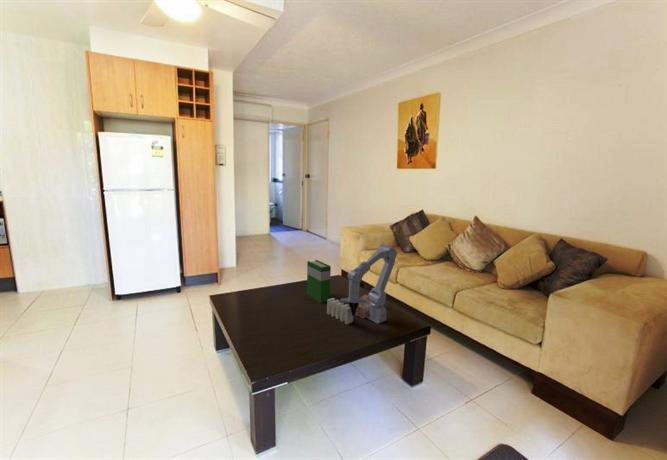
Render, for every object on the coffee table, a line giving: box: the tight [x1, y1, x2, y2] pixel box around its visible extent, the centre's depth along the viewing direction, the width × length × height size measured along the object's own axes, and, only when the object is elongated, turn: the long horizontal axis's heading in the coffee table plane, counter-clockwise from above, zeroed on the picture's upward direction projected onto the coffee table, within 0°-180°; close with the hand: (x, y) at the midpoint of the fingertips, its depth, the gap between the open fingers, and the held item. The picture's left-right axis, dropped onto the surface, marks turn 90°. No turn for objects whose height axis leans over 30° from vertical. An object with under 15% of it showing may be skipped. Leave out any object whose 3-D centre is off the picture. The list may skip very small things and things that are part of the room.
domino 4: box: [339, 303, 349, 323], centre depth 183 cm, size 2×5×9 cm, turn 131°
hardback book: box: [306, 259, 332, 304], centre depth 214 cm, size 18×7×24 cm, turn 35°
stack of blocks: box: [347, 293, 370, 319], centre depth 198 cm, size 21×6×12 cm
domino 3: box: [335, 301, 345, 320], centre depth 186 cm, size 2×5×9 cm, turn 131°
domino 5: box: [344, 307, 354, 325], centre depth 180 cm, size 2×5×9 cm, turn 131°
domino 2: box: [330, 299, 340, 318], centre depth 189 cm, size 2×5×9 cm, turn 131°
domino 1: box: [326, 297, 336, 315], centre depth 192 cm, size 2×5×9 cm, turn 131°
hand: (353, 314), depth 177 cm, fingers closed
